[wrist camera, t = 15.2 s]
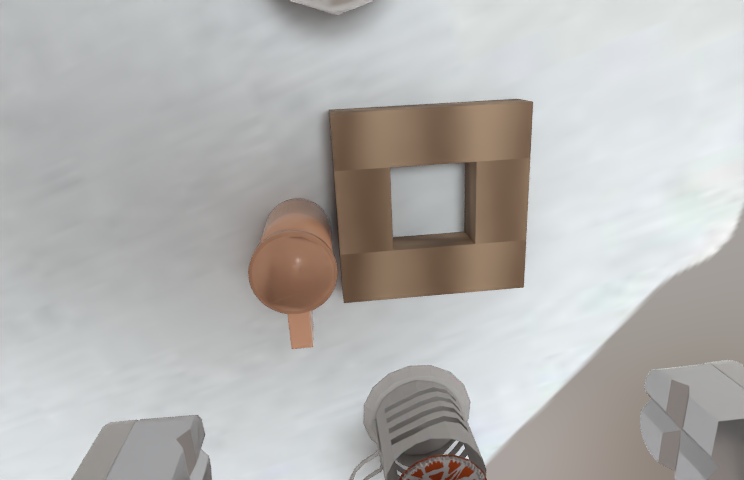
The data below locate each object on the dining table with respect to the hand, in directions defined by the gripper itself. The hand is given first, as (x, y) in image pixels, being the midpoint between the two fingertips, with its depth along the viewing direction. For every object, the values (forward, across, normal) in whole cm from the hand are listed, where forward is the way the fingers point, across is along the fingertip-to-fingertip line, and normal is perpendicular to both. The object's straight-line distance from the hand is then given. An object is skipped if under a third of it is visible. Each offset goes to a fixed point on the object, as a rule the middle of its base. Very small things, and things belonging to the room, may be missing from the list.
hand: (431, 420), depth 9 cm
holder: (+31, -6, +4) cm, 32 cm away
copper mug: (+31, +4, +7) cm, 32 cm away
